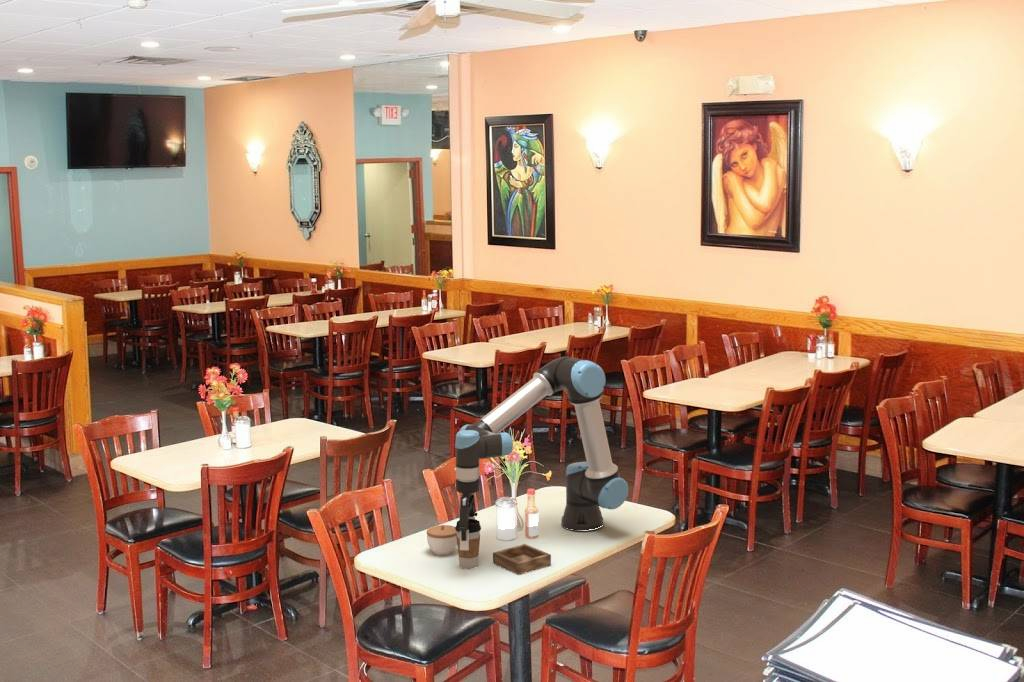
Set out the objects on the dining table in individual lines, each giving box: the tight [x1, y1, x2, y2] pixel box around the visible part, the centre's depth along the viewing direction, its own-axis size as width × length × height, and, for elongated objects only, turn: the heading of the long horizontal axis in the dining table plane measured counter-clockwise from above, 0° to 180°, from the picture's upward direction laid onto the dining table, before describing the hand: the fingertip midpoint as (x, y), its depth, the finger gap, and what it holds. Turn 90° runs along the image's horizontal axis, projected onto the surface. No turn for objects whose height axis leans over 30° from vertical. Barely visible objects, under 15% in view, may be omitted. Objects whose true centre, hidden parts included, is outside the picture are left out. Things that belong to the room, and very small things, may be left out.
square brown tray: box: [492, 543, 552, 576], centre depth 341 cm, size 13×13×4 cm
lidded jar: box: [426, 524, 458, 556], centre depth 353 cm, size 11×11×9 cm
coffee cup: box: [454, 518, 482, 570], centre depth 339 cm, size 8×8×15 cm
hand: (467, 543), depth 339 cm, fingers open, 13 cm apart
